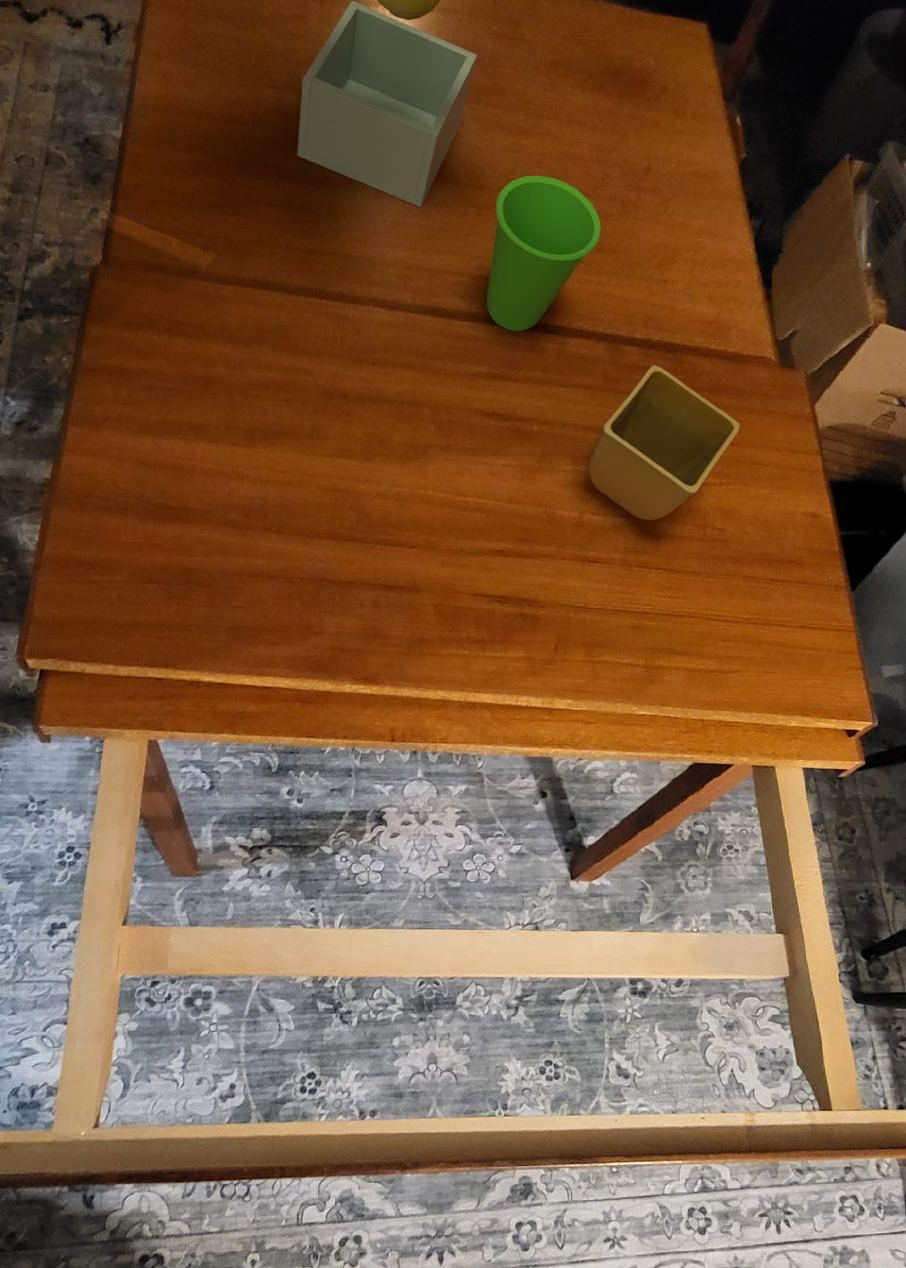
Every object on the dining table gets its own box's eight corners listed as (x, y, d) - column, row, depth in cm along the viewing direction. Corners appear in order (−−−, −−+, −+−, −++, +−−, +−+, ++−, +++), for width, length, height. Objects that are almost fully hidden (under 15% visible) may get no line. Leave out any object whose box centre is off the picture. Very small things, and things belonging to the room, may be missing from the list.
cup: (480, 352, 81) (515, 260, 71) (454, 274, 84) (483, 175, 74) (570, 345, 83) (615, 255, 73) (542, 270, 86) (581, 173, 76)
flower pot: (646, 549, 76) (694, 494, 68) (563, 489, 77) (602, 427, 69) (691, 484, 80) (743, 424, 72) (612, 427, 81) (654, 361, 73)
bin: (297, 155, 85) (302, 78, 78) (342, 78, 91) (351, -1, 84) (420, 207, 86) (437, 136, 79) (458, 128, 91) (477, 54, 84)
